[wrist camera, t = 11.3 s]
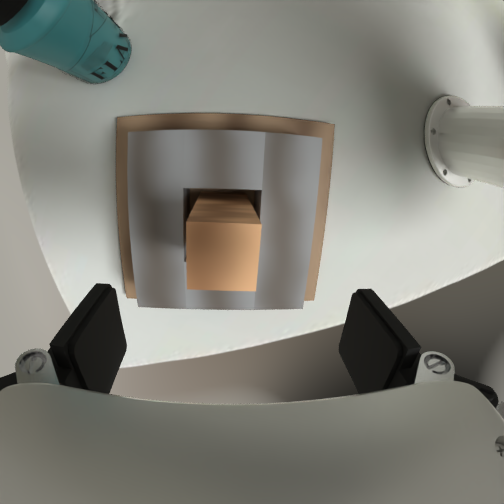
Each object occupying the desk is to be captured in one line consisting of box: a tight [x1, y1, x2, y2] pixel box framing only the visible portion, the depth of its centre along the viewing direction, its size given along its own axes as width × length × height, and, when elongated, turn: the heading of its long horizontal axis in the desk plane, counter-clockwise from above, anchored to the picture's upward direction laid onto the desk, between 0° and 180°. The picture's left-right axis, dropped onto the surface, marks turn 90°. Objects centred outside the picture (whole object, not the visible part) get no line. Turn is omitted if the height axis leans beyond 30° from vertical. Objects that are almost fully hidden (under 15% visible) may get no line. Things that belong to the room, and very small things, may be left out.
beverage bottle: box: [0, 0, 132, 84], centre depth 13 cm, size 6×7×20 cm
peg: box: [186, 191, 262, 291], centre depth 23 cm, size 4×4×12 cm
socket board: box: [116, 113, 335, 310], centre depth 27 cm, size 22×20×6 cm
